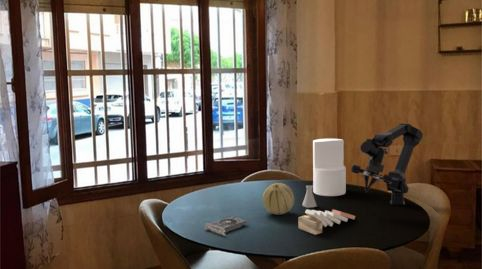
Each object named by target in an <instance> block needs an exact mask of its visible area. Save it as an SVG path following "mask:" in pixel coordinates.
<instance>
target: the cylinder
mask: <svg viewBox="0 0 482 269" xmlns="http://www.w3.org/2000/svg"><path fill="white" fill-rule="evenodd" d="M344 143H345V142H344V139H341V138H317V139H314V140H312V165H313V166H312V167H313V168H312V170H313V171H312V175H313V176H312V179H313V180H312V181H313V182H312V186H313V188H312V192H313V193H314V194H315V195H318V196H322V197H338V196H343V195H345V194H346V191H347V188H346V187H347V186H346V185H347V184H346V183H347V182H346V179H347V178H346V177H347V174H346V173H347V172H346V170H347V166H345V165H344V163H345V162H344V159H345V158H344V157H345V155H344Z"/></svg>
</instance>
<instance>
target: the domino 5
mask: <svg viewBox="0 0 482 269" xmlns="http://www.w3.org/2000/svg"><path fill="white" fill-rule="evenodd" d="M331 212H333V213H336V214H338V215H341V216H343V217H346V218H348V219H351V220H355V218H356V215H353V214H350V213H347V212H343V211H341V210H337V209H334V208H332V210H331Z"/></svg>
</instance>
